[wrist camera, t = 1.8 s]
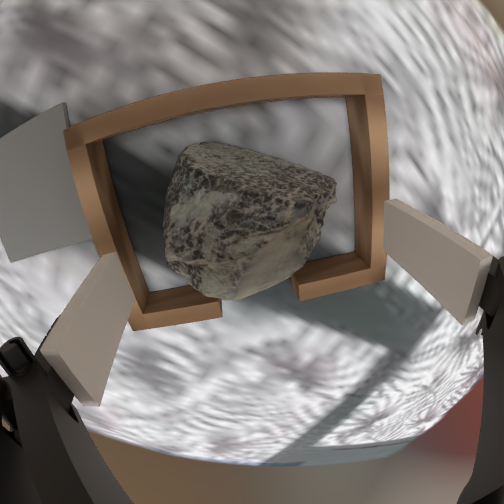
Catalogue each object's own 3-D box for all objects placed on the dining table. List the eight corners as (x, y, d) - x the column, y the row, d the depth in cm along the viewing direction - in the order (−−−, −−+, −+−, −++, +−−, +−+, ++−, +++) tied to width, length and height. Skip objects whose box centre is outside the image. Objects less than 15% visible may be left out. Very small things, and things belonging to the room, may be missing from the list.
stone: (325, 142, 9) (183, 335, 12) (369, 208, 18) (281, 316, 21) (195, 80, 14) (111, 217, 17) (275, 144, 22) (209, 238, 25)
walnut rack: (81, 128, 16) (62, 130, 14) (360, 78, 17) (380, 74, 14) (140, 308, 23) (133, 330, 21) (368, 263, 24) (384, 279, 22)
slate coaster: (-19, 153, 15) (-23, 154, 14) (65, 102, 15) (62, 102, 14) (13, 260, 20) (10, 262, 19) (99, 234, 20) (96, 237, 19)
